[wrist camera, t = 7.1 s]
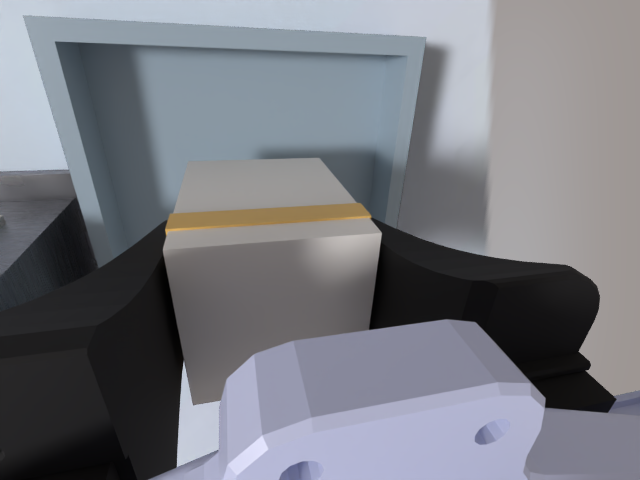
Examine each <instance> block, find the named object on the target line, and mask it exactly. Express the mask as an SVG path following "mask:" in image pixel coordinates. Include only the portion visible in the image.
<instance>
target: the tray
mask: <svg viewBox="0 0 640 480" xmlns="http://www.w3.org/2000/svg"><path fill="white" fill-rule="evenodd" d="M23 18H24V21H25V24H26V28H27V31H28V34H29V38H30V41H31V44H32V48H33V51H34V54H35V58H36V61H37V64H38V68H39V71H40V74H41V78H42V81H43V84H44V88H45V91H46V94H47V98H48V101H49V104H50V108H51V111H52V114H53V118H54V121H55V124H56V128H57V131H58V134H59V138H60V141H61V144H62V148H63V151H64V155H65V158H66V161H67V165H68V168H69V171H70V175H71V178H72V181H73V185H74V188H75V191H76V195H77V198H78V201H79V205H80V208H81V211H82V215H83V218H84V221H85V225H86V228H87V231H88V235H89V238H90V241H91V245H92V248H93V251H94V255H95V258H96V261H97V265H98V268H100V267H102V266H103V265H105V264H107V263H108V262H110V261H111V260H113V259H114V258H116V257H117V256H119V255H120V254H121V253H123V252H124V251H126V250H127V249H129V248H130V247H132V246H133V245H134V244H136V243H137V242H138V241H139V240H141V239H142V238H143V237H144V236H146V235H147V234H148V233H150V232H151V231H152V230H153V229H155V228H156V227H157V226H158V225H160V224H161V223H162V222H164V221H165V220H168V218H169V215H170V214H173V212H174V209H175V205H176V202H177V198H178V195H179V191H180V188H181V184H182V181H183V177H184V174H185V171H186V167H187V164H188V161H216V160H253V159H290V158H320V159H321V160H322V162H323V163H324V164H325V165H326V166H327V168H328V169H329V170H330V171H331V172H332V174H333V175H334V176H335V177H336V178H337V180H338V181H339V182H340V183H341V184H342V186H343V187H344V188H345V189H346V190H347V192H348V193H349V194H350V195H351V196H352V198H353V199H354V200H355V201H356V202H357V203H361V204H362V205H363V206H364V208H365V209H366V210H367V211H368V212H369V213H370V215H371V217H372V218H374V219H376V220H378V221H381V222H383V223H385V224H387V225H389V226H391V227H393V228H397V222H398V216H399V209H400V203H401V196H402V190H403V184H404V177H405V171H406V164H407V158H408V152H409V145H410V139H411V132H412V126H413V120H414V113H415V107H416V100H417V94H418V88H419V81H420V75H421V68H422V62H423V55H424V49H425V43H426V37H415V36H396V35H378V34H359V33H341V32H322V31H304V30H285V29H267V28H248V27H229V26H211V25H192V24H174V23H155V22H137V21H118V20H100V19H81V18H63V17H44V16H26V15H23Z"/></svg>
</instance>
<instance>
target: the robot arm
mask: <svg viewBox="0 0 640 480" xmlns="http://www.w3.org/2000/svg"><path fill="white" fill-rule="evenodd" d="M371 220H372V222H373V223H374V224H375V225H376V226H377V228H378V229H379V230H380V231H381V232H382V236H381V243H380V251H379V258H378V266H377V273H376V280H375V288H374V295H373V303H372V310H371V317H370V325H369V330H366V331H359V332H352V333H345V334H338V335H331V336H324V337H316V338H309V339H302V340H295V341H290V342H288V343H285V344H282V345H279V346H276V347H273V348H270V349H267V350H264V351H261V352H258V353H256V354H254V355H252V356H251V357H250V358H249V359H248V360H247V361H246V362H245V363H244V364H243V365H241V366H240V367H239V368H238V369H237V370H236V371H235V372H234V373H233V374H232V375H230V376H229V377H228V378H227V379H226V383H225V387H224V391H223V395H222V398H221V402H220V406H219V450H217V451H214V452H212V453H210V454H207V455H205V456H203V457H200V458H198V459H196V460H193V461H191V462H188V463H186V464H184V465H181V466H179V467H177V444H178V426H179V408H180V394H181V379H182V369H183V362H184V357H183V352H182V346H181V341H180V336H179V331H178V326H177V321H176V316H175V311H174V306H173V300H172V295H171V290H170V285H169V280H168V275H167V270H166V265H165V260H164V254H163V247H164V243H165V240H166V231H165V228H166V225H167V221H168V220H165V221H164V222H162V223H161V224H160V225H158V226H157V227H156V228H155V229H153V230H152V231H151V232H150V233H148V234H147V235H146V236H144V237H143V238H142V239H141V240H139V241H138V242H137V243H136V244H134V245H133V246H132V247H130V248H129V249H127V250H126V251H124V252H123V253H121V254H120V255H119V256H117V257H116V258H114V259H113V260H111V261H110V262H108V263H107V264H105V265H103V266H102V267H100V268H98V269H97V270H95V271H93V272H91V273H89V274H87V275H86V276H84V277H82V278H80V279H78V280H76V281H74V282H72V283H70V284H67V285H65V286H63V287H61V288H59V289H56V290H54V291H52V292H50V293H47V294H45V295H43V296H41V297H38V298H36V299H33V300H31V301H28V302H25V303H23V304H20V305H17V306H15V307H12V308H9V309H6V310H3V311H0V480H640V391H635V392H630V393H625V394H621V395H616V396H613V395H611V394H610V393H609V392H608V391H607V390H606V389H605V388H604V387H603V386H602V385H600V384H599V383H598V382H597V381H596V380H595V379H594V378H593V377H592V376H590V375H589V374H588V373H587V372H586V371H585V370H589V368H590V366H591V364H590V361H589V360H587V359H586V358H585V357H584V356H583V355H582V354H581V353H579V352H578V351H579V349H580V347H581V345H582V343H583V342H584V340H585V338H586V336H587V334H588V332H589V330H590V328H591V326H592V324H593V322H594V320H595V318H596V315H597V313H598V309H599V301H600V295H599V292H598V288H597V286H596V285H595V284H594V283H593V281H592V280H591V279H589V278H588V277H586V276H584V275H583V274H582V273H580V272H578V271H577V270H575V269H574V268H572V267H570V266H567V265H560V264H547V263H535V262H522V261H515V260H507V259H500V258H494V257H488V256H482V255H477V254H473V253H468V252H464V251H459V250H455V249H452V248H448V247H444V246H441V245H438V244H435V243H432V242H428V241H425V240H423V239H420V238H417V237H415V236H412V235H410V234H407V233H405V232H402V231H400V230H398V229H396V228H393V227H391V226H389V225H387V224H385V223H383V222H381V221H378V220H376V219H374V218H372V217H371ZM176 467H177V468H176Z"/></svg>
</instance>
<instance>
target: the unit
mask: <svg viewBox="0 0 640 480" xmlns="http://www.w3.org/2000/svg"><path fill="white" fill-rule="evenodd" d="M97 269H98V265H97V261H96V258H95V255H94V251H93V248H92V245H91V241H90V238H89V235H88V231H87V228H86V225H85V221H84V218H83V215H82V211H81V208H80V205H79V201H78V198H77V195H76V191H75V188H74V185H73V181H72V178H71V175H70V171H69V170H48V171H14V172H0V311H3V310H6V309H9V308H12V307H15V306H17V305H20V304H23V303H25V302H28V301H31V300H33V299H36V298H38V297H41V296H43V295H45V294H47V293H50V292H52V291H54V290H56V289H59V288H61V287H63V286H65V285H67V284H70V283H72V282H74V281H76V280H78V279H80V278H82V277H84V276H86V275H87V274H89V273H91V272H93V271H95V270H97Z"/></svg>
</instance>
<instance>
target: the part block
mask: <svg viewBox="0 0 640 480" xmlns="http://www.w3.org/2000/svg"><path fill="white" fill-rule="evenodd" d="M165 231H166V240H165V243H164V247H163V254H164V260H165V265H166V270H167V275H168V280H169V285H170V290H171V295H172V300H173V306H174V311H175V316H176V321H177V326H178V331H179V336H180V341H181V346H182V352H183V357H184V362H185V367H186V372H187V377H188V382H189V387H190V393H191V398H192V403H193V405H197V404H203V403H209V402H215V401H220V400H221V398H222V395H223V391H224V387H225V383H226V379H227V378H228V377H229V376H230V375H232V374H233V373H234V372H235V371H236V370H237V369H238V368H239V367H240V366H241V365H243V364H244V363H245V362H246V361H247V360H248V359H249V358H250V357H251V356H252V355H254V354H256V353H258V352H261V351H264V350H267V349H270V348H273V347H276V346H279V345H282V344H285V343H288V342H290V341H295V340H302V339H309V338H316V337H324V336H331V335H338V334H345V333H352V332H359V331H366V330H369V325H370V317H371V310H372V303H373V295H374V288H375V280H376V273H377V266H378V258H379V251H380V243H381V236H382V232H381V231H380V230H379V229H378V228H377V226H376V225H375V224H374V223H373V222H372V220H371V215H370V213H369V212H368V211H367V210H366V209H365V208H364V206H363V205H362V204H361V203H357V202H356V201H355V200H354V199H353V198H352V196H351V195H350V194H349V193H348V192H347V190H346V189H345V188H344V187H343V186H342V184H341V183H340V182H339V181H338V180H337V178H336V177H335V176H334V175H333V174H332V172H331V171H330V170H329V169H328V168H327V166H326V165H325V164H324V163H323V162H322V160H321V159H320V158H290V159H253V160H216V161H188V164H187V167H186V171H185V174H184V177H183V181H182V184H181V188H180V191H179V195H178V198H177V202H176V205H175V209H174V212H173V214H170V215H169V218H168V221H167V225H166V228H165Z"/></svg>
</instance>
